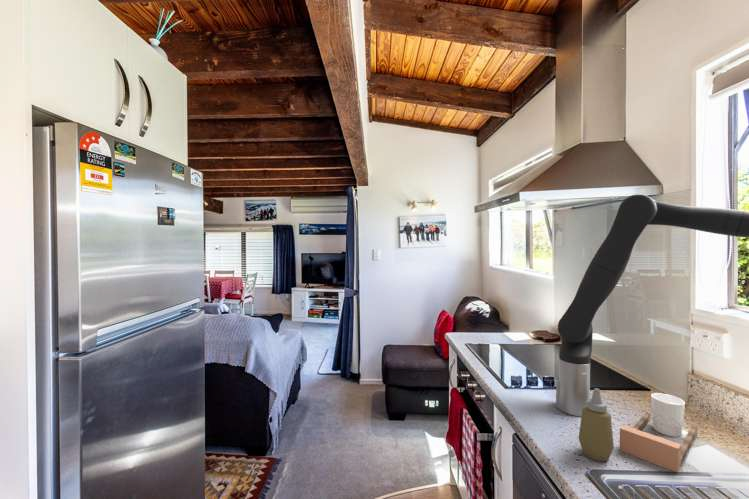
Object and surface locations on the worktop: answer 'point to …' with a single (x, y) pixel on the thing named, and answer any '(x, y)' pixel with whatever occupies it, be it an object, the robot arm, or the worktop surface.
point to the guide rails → (686, 442)
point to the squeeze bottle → (596, 429)
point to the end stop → (650, 448)
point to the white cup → (667, 414)
